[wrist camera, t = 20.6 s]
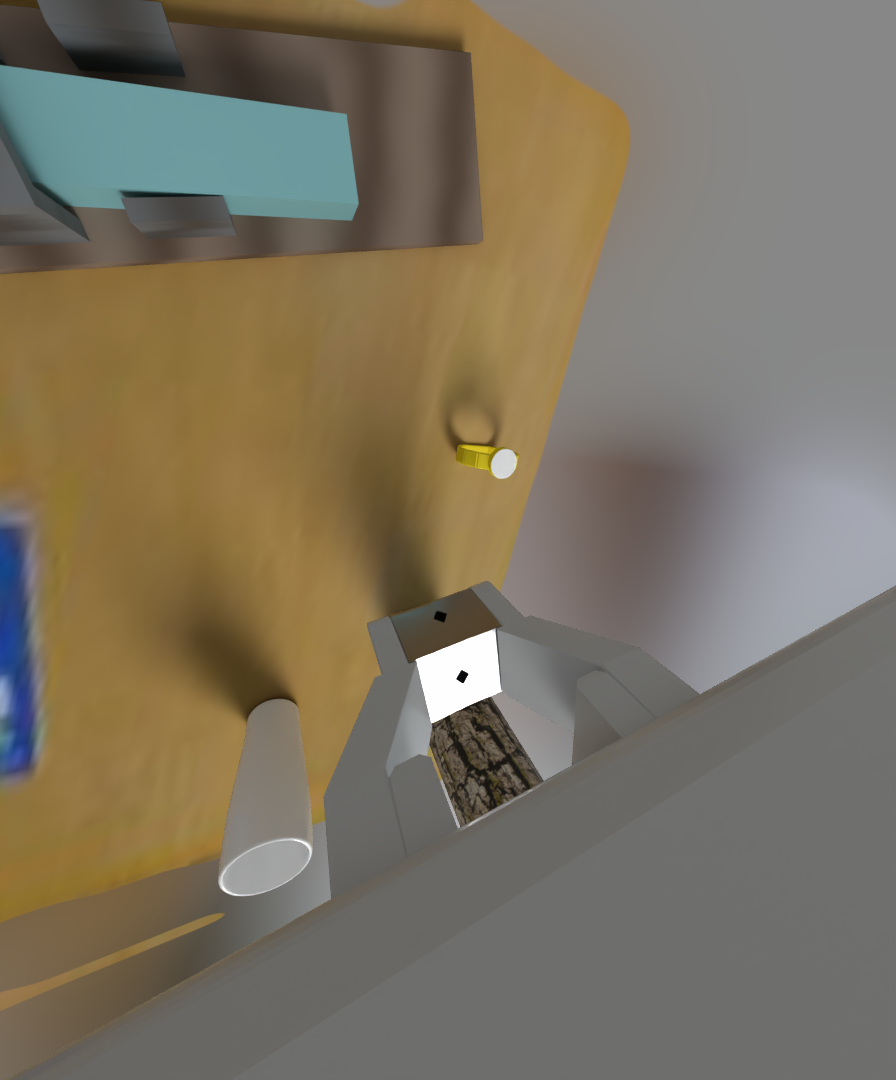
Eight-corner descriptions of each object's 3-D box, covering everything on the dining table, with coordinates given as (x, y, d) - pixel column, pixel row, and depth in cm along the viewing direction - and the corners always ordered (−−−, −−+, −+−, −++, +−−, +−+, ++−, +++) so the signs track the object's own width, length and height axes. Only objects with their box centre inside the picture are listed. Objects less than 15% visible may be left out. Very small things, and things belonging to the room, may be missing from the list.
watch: (499, 439, 38) (535, 450, 33) (494, 465, 39) (528, 479, 34) (449, 435, 35) (480, 446, 30) (445, 464, 36) (475, 478, 31)
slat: (-26, 201, 19) (-73, 175, 17) (-80, 92, 17) (-143, 44, 15) (351, 220, 25) (358, 203, 23) (340, 141, 23) (346, 114, 21)
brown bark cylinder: (398, 606, 41) (512, 849, 20) (450, 609, 44) (595, 823, 23) (383, 654, 43) (474, 921, 22) (434, 653, 46) (555, 888, 25)
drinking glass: (230, 734, 39) (202, 904, 27) (254, 686, 38) (237, 841, 26) (291, 738, 43) (292, 890, 30) (316, 694, 42) (327, 834, 29)
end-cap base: (-14, 274, 21) (-122, 239, 15) (-177, 4, 16) (-417, -186, 11) (477, 244, 30) (520, 215, 24) (464, 63, 25) (513, -24, 19)
